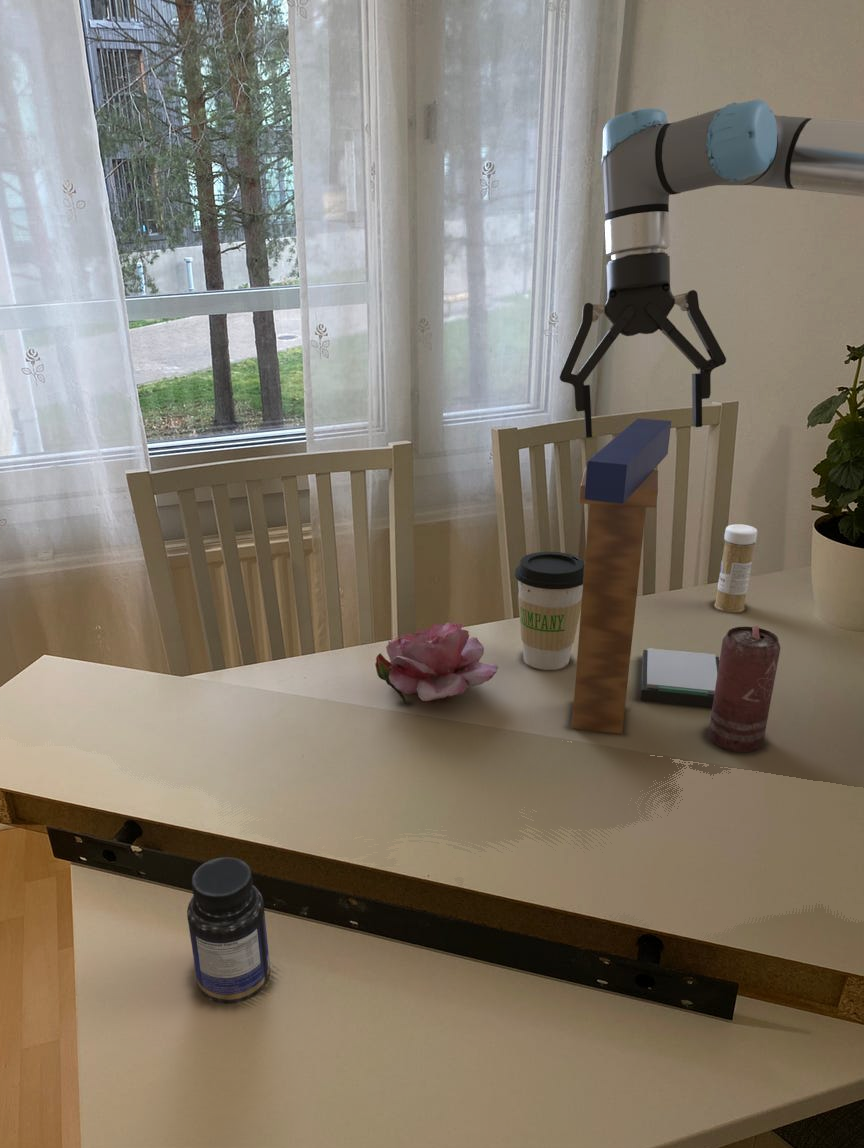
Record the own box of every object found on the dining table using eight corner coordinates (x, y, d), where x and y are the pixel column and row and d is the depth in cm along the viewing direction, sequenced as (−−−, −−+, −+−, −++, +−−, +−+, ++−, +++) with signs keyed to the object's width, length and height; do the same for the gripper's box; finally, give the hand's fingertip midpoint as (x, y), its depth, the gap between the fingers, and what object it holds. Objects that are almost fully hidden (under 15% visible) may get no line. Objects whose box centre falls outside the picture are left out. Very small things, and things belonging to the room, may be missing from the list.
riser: (631, 709, 116) (658, 470, 102) (630, 742, 109) (658, 489, 96) (568, 702, 118) (585, 466, 104) (562, 734, 111) (580, 485, 98)
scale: (716, 669, 125) (719, 652, 124) (722, 712, 115) (725, 693, 114) (641, 662, 128) (643, 645, 127) (640, 703, 117) (642, 685, 116)
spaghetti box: (667, 454, 109) (671, 420, 107) (623, 504, 91) (627, 464, 89) (634, 451, 110) (637, 418, 109) (584, 499, 93) (587, 460, 91)
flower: (522, 675, 119) (501, 605, 116) (446, 730, 110) (422, 656, 107) (443, 668, 130) (422, 605, 127) (370, 717, 122) (346, 651, 119)
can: (759, 731, 110) (778, 626, 104) (764, 758, 105) (784, 649, 99) (706, 725, 112) (722, 621, 106) (708, 752, 106) (725, 644, 100)
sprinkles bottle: (711, 603, 146) (722, 523, 140) (740, 604, 145) (753, 523, 140) (717, 615, 142) (730, 532, 136) (748, 615, 141) (761, 532, 136)
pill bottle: (215, 947, 80) (202, 845, 75) (281, 958, 78) (271, 855, 74) (185, 1001, 74) (168, 895, 70) (255, 1014, 73) (243, 907, 68)
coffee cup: (498, 654, 131) (502, 555, 125) (558, 642, 134) (565, 546, 128) (532, 683, 123) (538, 580, 116) (595, 670, 126) (604, 569, 119)
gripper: (738, 245, 113) (738, 420, 119) (535, 271, 118) (544, 438, 124) (751, 237, 106) (750, 423, 112) (534, 266, 111) (544, 443, 116)
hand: (642, 431), depth 118 cm, fingers open, 13 cm apart
